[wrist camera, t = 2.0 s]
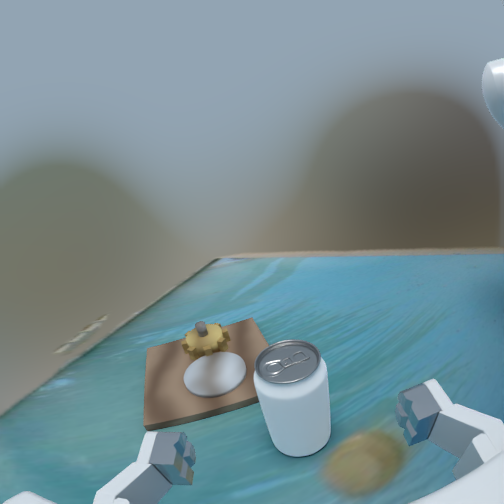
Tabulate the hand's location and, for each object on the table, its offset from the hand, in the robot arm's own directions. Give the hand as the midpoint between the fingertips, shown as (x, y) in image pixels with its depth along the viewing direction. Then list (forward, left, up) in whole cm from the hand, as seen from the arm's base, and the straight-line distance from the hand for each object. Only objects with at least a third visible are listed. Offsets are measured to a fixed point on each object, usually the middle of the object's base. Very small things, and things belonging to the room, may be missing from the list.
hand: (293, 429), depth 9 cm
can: (-3, -12, -19) cm, 23 cm away
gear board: (+5, -29, -19) cm, 35 cm away
